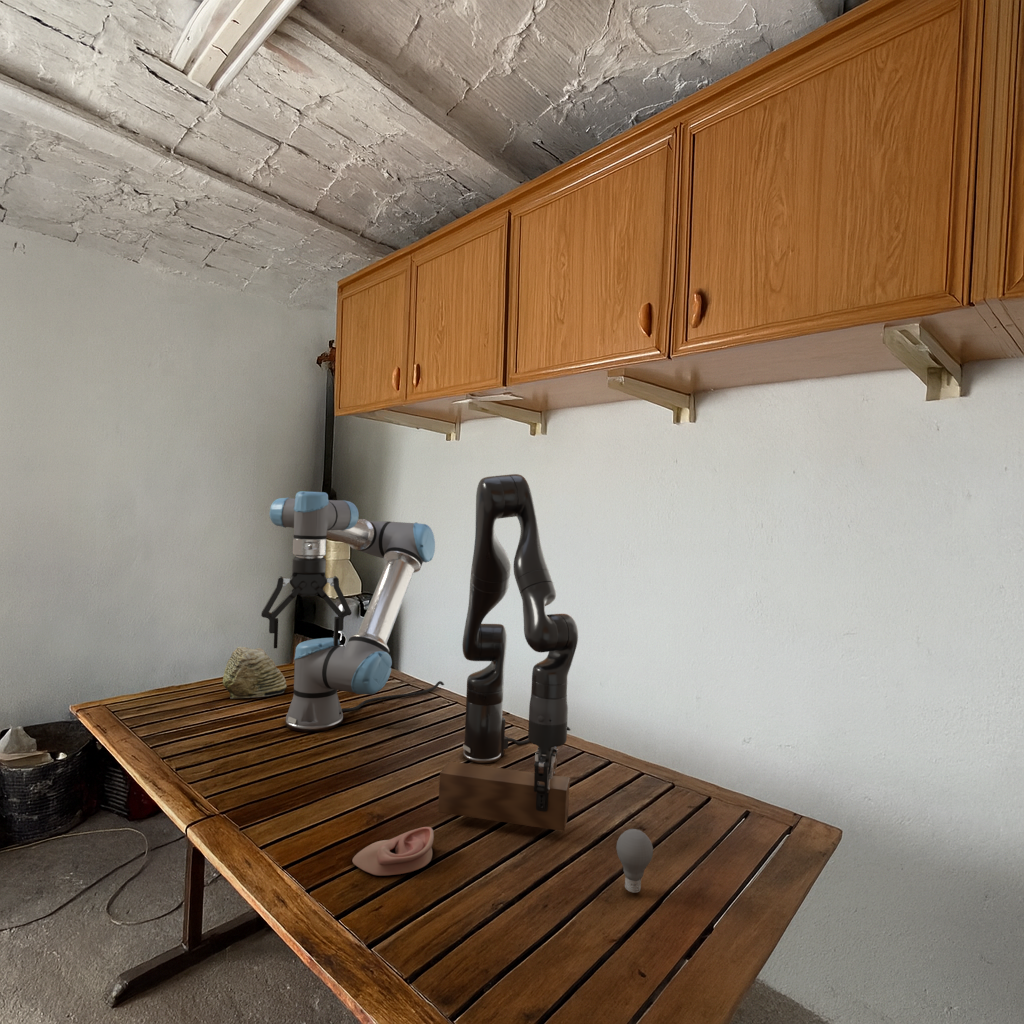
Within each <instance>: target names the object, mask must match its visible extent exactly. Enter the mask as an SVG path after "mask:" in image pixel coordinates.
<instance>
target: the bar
mask: <svg viewBox="0 0 1024 1024" xmlns="http://www.w3.org/2000/svg"><path fill="white" fill-rule="evenodd" d="M534 774H535V772H532V771H524V770H517V769H510V768H502V767H496V766H487V765H479V764H473V763H466V762H457V761H451V760H449V761H448V762H446V765H444V767H443V768H442V769H441V771H440V772H439V781H438V782H439V785H438V803H437V804H438V805H437V806H438V808H437V812H438V813H440V814H441V813H442V814H448V815H455V816H462V817H468V818H474V819H479V820H480V819H481V820H487V821H494V822H501V823H508V824H512V825H514V824H515V825H520V826H521V825H522V826H527V827H533V828H534V827H535V828H539V829H540V828H541V829H547V830H553V831H560V832H565V831H566V828H567V827H566V826H567V823H568V817H569V805H570V804H569V803H570V785H571V781H570V780H571V777H570V776H561V775H556V774H555V775H553V778H552V779H551V780H550V785H549V788H550V791H549V794H548V809H547V811H546V812H543V811H537V810H536V795H537V792H534ZM539 785H545V783H544V782H541V781H540V783H539Z"/></svg>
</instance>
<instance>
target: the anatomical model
mask: <svg viewBox="0 0 1024 1024" xmlns="http://www.w3.org/2000/svg"><path fill="white" fill-rule="evenodd" d="M434 839H435V833H434V829H433V828H432V827H431V826H423V827H419V828H415V829H411V830H408V831H406V832H404V833H401V834H399V835H397V836H394V837H392V838H390V839H384V840H379V841H375V842H373V843H371V844H369V845H367V846H365V847H364V848H362V849H360V850H359V851H358V852H357V853H356V854H355V855H354V856H353V857H352V860H351V861H352V864H353V865H354V866H356V867H357V868H358V869H360V870H362V871H363V872H366V873H368V874H370V875H373V876H379V877H382V876H385V877H386V876H394V875H401V874H402V875H403V874H407V873H412V872H414V871H418V870H419V869H422V868H424V867H426V866H428V864H429V863H430V862H431V861H432V859H433V848H432V847H433V843H434Z"/></svg>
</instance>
